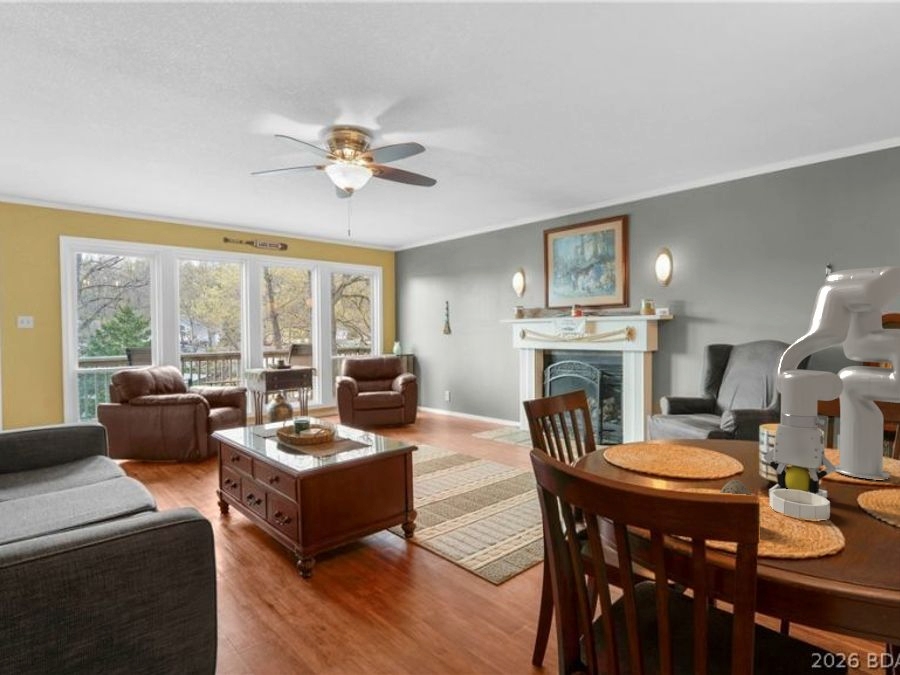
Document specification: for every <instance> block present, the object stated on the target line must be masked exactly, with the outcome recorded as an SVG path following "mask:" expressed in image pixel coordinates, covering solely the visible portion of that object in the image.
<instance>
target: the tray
mask: <svg viewBox="0 0 900 675" xmlns="http://www.w3.org/2000/svg"><path fill="white" fill-rule="evenodd" d="M774 489H780V485H778V483H776V484H775V485H774V486H772V487H771V488H769V489H768V496H769V497H770V492H771V491H772V490H774ZM809 492H810V490H809ZM816 494H817V495H819V496H822V497H824V498H826V499H827V498H828V491H827V490H824V489H820V488H819V492H818V493H816Z"/></svg>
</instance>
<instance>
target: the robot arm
mask: <svg viewBox="0 0 900 675" xmlns="http://www.w3.org/2000/svg"><path fill="white" fill-rule="evenodd" d="M815 296H816V297H815V300H814V304H813V308H812V312H811V315H810V319H809V324H808V328H807V331H806V333H804V334H803V335H802V336H800V337H799V338H798V339H796V340H794V342H793V343H792V344H791V345H789V347H788V348H786V349H785V350H784V352H783V354H782V355H781V356H780V358H779V362H778V366H777V370H776V374H775V380H774V381H775V388H776V390H777V392H778V394H780V423H778V424H777V427H776V429H775V436H774V441H773V442H774V444H773V449H771V450H770V451H768V452H767V453H766V454H765V455H763V459H764V460H765V461H766V462H767V464H769V465H770V467H771V468H773V470H775V472H776V474H777V484H778V485H780V489H786V488H787V487H786V484H785V474H786V472H787V471H786V469H787V466H791V467H793V466H797V467H802V468H804V469H808V473H809V474H810V477H811V480H810V493H814V494H816V493H818V492H819V489H820V487H819V486H820V480H821V479H823V478H825V477H826V476H828V475H829V474H831V473H833V472H835V471H837V472H840V473H843V474H846V475H850V476H854V477H860V478H868V479H887V478H891V474H890V473H889V472H887V471H885V470H884V468H883V467H884V466H883V465H884V461H883V459H884V458H883V457H884V456H883V455H884V415H883V413H882V410H880V408H879V406H878V405H877V404H876V403H875V402H877V401H878V402H887V403H888V402H889V403H897V404H898V403H899V404H900V328H884V327H883V323H882V322H883V320H882V319H883V318H882V315H883V314H882V310H884V309H885V308H886V307H888V306H889V305H890V304H891V303H892V302H894V301H895V300H896V299H897V298H898V297H899V296H900V267H898V266H893V265H890V266H887V265H886V266H877V267H876V266H875V267H867V268H866V267H865V268H864V267H863V268H852V269H851V268H850V269H842V270H837V271H833V272H831V273H829V274H828V275H827V276H826V277H825V279H824V284H823V285H822V286H820V288H819V289H818V291H817V293H816V295H815ZM840 344H842V346H843V347H842V348H843V353H844V356H845V357H846V359H849V360H850V361H855V362H866V363H882V364H883V363H884V364H891V365H892V367H878V366H868V365H867V366H866V365H863V366H862V365H852V366H846V367H844V368H841V369H840V370H839V371H838V372H837V374H836V373H834V372H831V371H826V370H825V371H822V370H810V369H798V366H799V364H800V363H801V362H802V361H803V360H804V359H805V358H807V357H808V356H810V355H812V354H814V353H816V352H820V351H823V350H826V349H829V348H831V347H835V346H837V345H840ZM838 398H839V407H840V408H839V409H840V410H839V411H840V412H839V413H840V418H839V464H835V465H834V464H833V463H832V462H831V461H830V460H829V459H828V458H827V457H826V456H825V455H826V452H825V441H824V435H823V429H822V428H820V427H818V426H824V425H825V419H822V418H819V416H818V401H823V402H824V401H825V402H826V401H827V402H828V401H829V402H830V401H833V400H835V399H836V400H837V399H838ZM874 401H875V402H874ZM820 430H821V431H820ZM823 466H824V467H825V468H824V469H823V470H821V471H820V470H819V469H821V467H823Z"/></svg>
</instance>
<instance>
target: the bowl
mask: <svg viewBox="0 0 900 675" xmlns="http://www.w3.org/2000/svg"><path fill="white" fill-rule="evenodd" d="M770 506H771V507H772V509H774V510H776V511H778V512H781V513H784V514H787V515H790V516H794V517H798V518H804V519H816V520H817V519H826V521H828V520H829V519H830V516H831V502H830V500H828V499H827V498H824V497H822V496H819V495H817V494H814V493H810V492H805V491H800V490H793V489H774V490H772V491H771V492H770V496H769V507H770ZM772 509H771V510H772ZM827 519H828V520H827Z"/></svg>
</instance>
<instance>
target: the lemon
mask: <svg viewBox="0 0 900 675" xmlns="http://www.w3.org/2000/svg"><path fill="white" fill-rule="evenodd" d="M785 472H786V474H785V484H786V487H787V488H788V489H793V490H800V491H805V492H809V490H810V480H811V478H812V477H811V474H810V472H809V470H807V468H803V467H797V466H791V467H789V468H788V469H787V470H786V471H785Z"/></svg>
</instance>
